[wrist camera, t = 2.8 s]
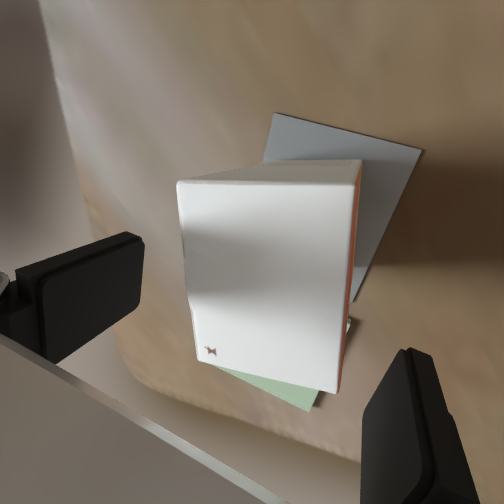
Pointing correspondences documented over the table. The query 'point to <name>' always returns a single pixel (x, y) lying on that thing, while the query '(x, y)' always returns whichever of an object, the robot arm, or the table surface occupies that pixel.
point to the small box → (272, 267)
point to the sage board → (281, 387)
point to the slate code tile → (372, 176)
